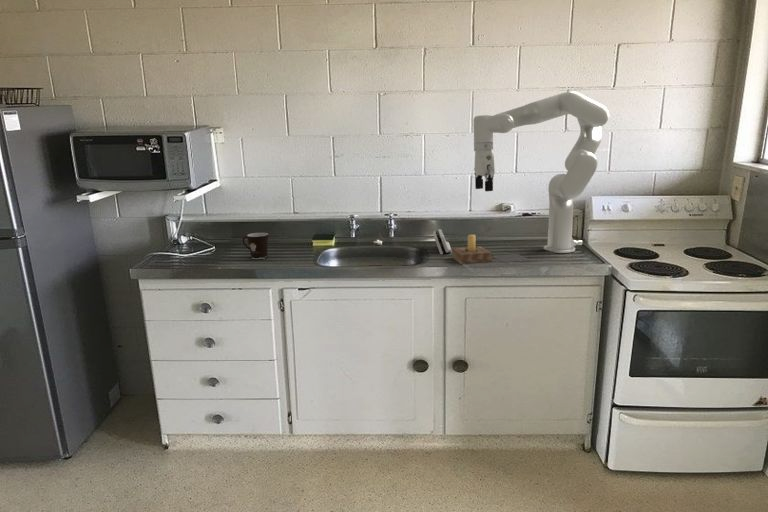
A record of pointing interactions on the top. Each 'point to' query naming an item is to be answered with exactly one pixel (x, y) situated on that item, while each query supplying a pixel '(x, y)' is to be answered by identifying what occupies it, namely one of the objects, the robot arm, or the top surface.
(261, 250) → the coffee mug
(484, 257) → the hole block
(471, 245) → the peg
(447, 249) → the white plastic device case
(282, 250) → the top surface
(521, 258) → the mat
